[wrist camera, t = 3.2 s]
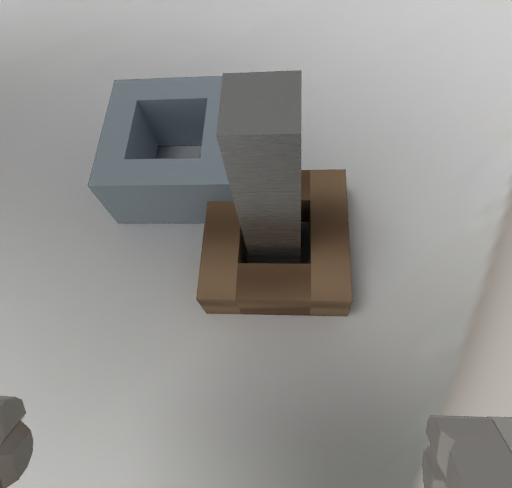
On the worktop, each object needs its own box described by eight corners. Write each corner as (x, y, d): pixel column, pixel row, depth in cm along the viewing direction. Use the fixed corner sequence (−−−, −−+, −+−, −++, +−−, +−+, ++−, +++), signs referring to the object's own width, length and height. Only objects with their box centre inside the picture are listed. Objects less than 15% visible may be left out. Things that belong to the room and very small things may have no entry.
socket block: (347, 316, 27) (352, 301, 24) (206, 313, 28) (196, 299, 25) (341, 193, 31) (345, 169, 28) (218, 195, 32) (210, 171, 29)
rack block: (239, 223, 30) (228, 184, 26) (118, 223, 31) (87, 186, 27) (246, 123, 34) (238, 75, 30) (138, 126, 35) (114, 80, 31)
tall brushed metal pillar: (300, 272, 28) (301, 133, 16) (253, 272, 29) (216, 135, 16) (300, 230, 30) (301, 70, 17) (255, 230, 30) (222, 73, 17)
